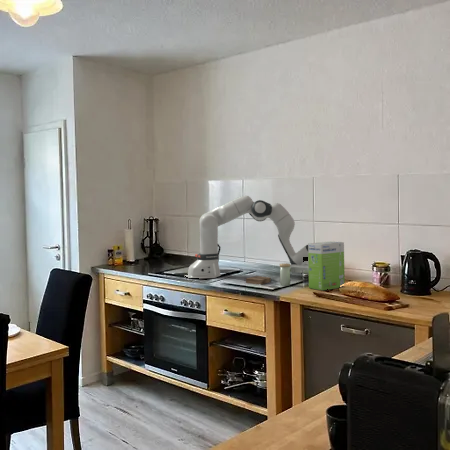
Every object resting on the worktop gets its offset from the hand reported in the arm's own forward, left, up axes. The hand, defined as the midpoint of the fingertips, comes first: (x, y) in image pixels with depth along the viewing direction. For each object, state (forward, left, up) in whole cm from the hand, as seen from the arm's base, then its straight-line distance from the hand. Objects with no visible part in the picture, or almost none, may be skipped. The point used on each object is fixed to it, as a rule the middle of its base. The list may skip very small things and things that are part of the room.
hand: (295, 271), depth 292 cm
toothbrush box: (+7, -23, -7) cm, 24 cm away
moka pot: (-29, +63, -7) cm, 70 cm away
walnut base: (-19, +8, -6) cm, 22 cm away
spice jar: (-9, -6, -6) cm, 13 cm away
